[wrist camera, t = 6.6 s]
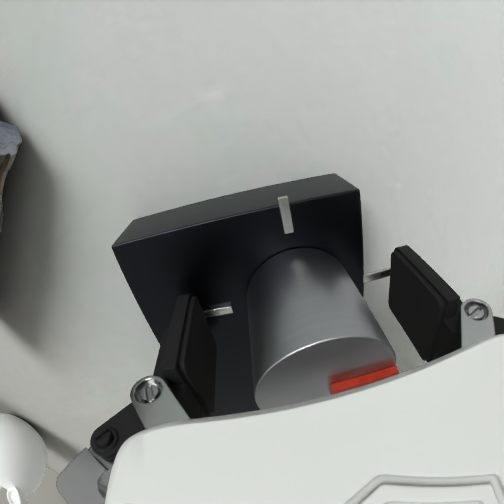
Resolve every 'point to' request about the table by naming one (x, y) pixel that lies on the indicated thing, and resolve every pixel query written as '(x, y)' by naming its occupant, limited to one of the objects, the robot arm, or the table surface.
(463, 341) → the robot arm
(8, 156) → the stone
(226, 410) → the hob panel
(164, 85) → the table surface
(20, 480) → the piggy bank
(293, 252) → the knob
